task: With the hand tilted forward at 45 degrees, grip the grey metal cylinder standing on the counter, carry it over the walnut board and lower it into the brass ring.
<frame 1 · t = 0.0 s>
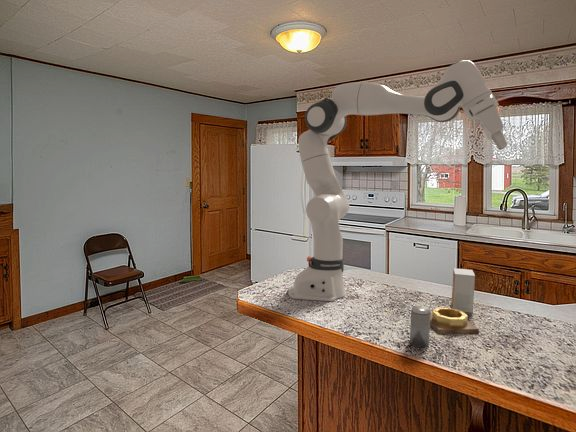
hand: (503, 148, 109), 54 cm above the worktop, tool tilted 30°, fingers open, 8 cm apart
ring: (449, 317, 111), on the board, point 2 cm above the worktop
small box: (461, 308, 126), on the worktop
grey metal cylinder: (419, 343, 99), on the worktop
board: (449, 324, 112), on the worktop
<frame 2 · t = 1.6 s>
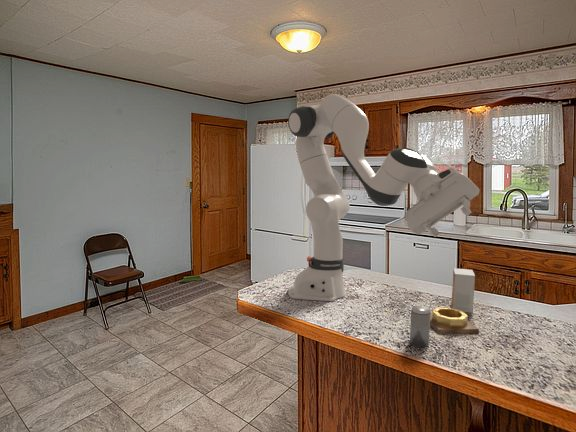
hand: (451, 224, 92), 34 cm above the worktop, tool tilted 55°, fingers open, 8 cm apart
nothing on the worktop moved.
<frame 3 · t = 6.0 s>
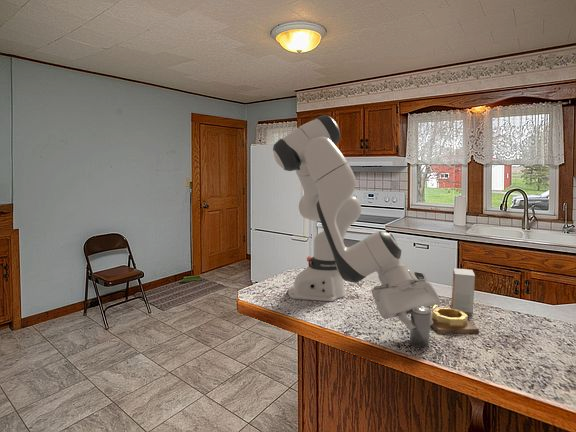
hand: (421, 326, 98), 5 cm above the worktop, tool tilted 45°, fingers closed on grey metal cylinder, 5 cm apart
grey metal cylinder: (419, 343, 99), on the worktop, touching gripper
everything else where it was.
when the fingers open (8 cm above the worktop, at t = 11.6 s): grey metal cylinder stays where it is, resting on board.
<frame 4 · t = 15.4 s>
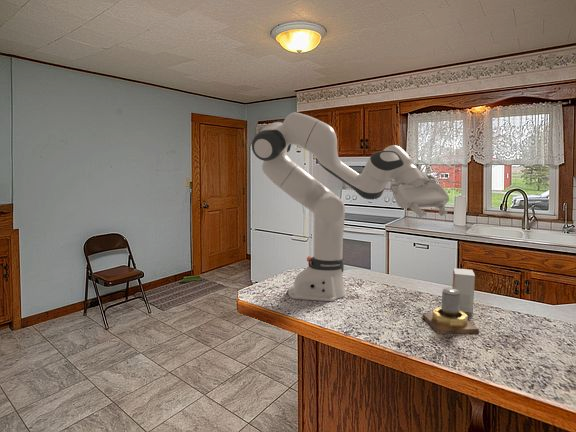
hand: (434, 215, 114), 33 cm above the worktop, tool tilted 45°, fingers open, 8 cm apart
grey metal cylinder: (449, 321, 111), point 1 cm above the worktop, touching board
everything else where it was.
at the end: grey metal cylinder 0.1 cm off-centre on the board, point 1.2 cm above the board's base; grey metal cylinder tilted 0°; the gripper is holding nothing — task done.
